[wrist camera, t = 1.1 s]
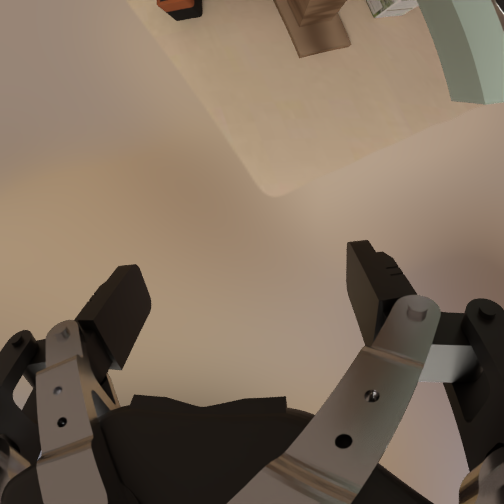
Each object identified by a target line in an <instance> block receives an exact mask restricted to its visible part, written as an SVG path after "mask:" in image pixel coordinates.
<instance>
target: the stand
mask: <svg viewBox="0 0 504 504" xmlns="http://www.w3.org/2000/svg"><path fill="white" fill-rule="evenodd" d="M273 1H274V3H275V5H276V7H277V9H278V11H279V13H280V15H281V17H282V20H283V22H284V24H285V26H286V28H287V30H288V33H289V35H290V37H291V40H292V42H293V44H294V46H295V49H296V51H297V54H298V56H299V58H302V57H306V56H310V55H314V54H318V53H322V52H326V51H331V50H336V49H340V48H345V47H349V46H350V45H351V42H350V40H349V38H348V35H347V33H346V31H345V28H344V26H343V24H342V21H341V19H340V17H339V15H338V13H337V12H338V11H339V10H340V8H341V7H342V6H343V4H344V3H345V2H346V1H347V0H273Z"/></svg>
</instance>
